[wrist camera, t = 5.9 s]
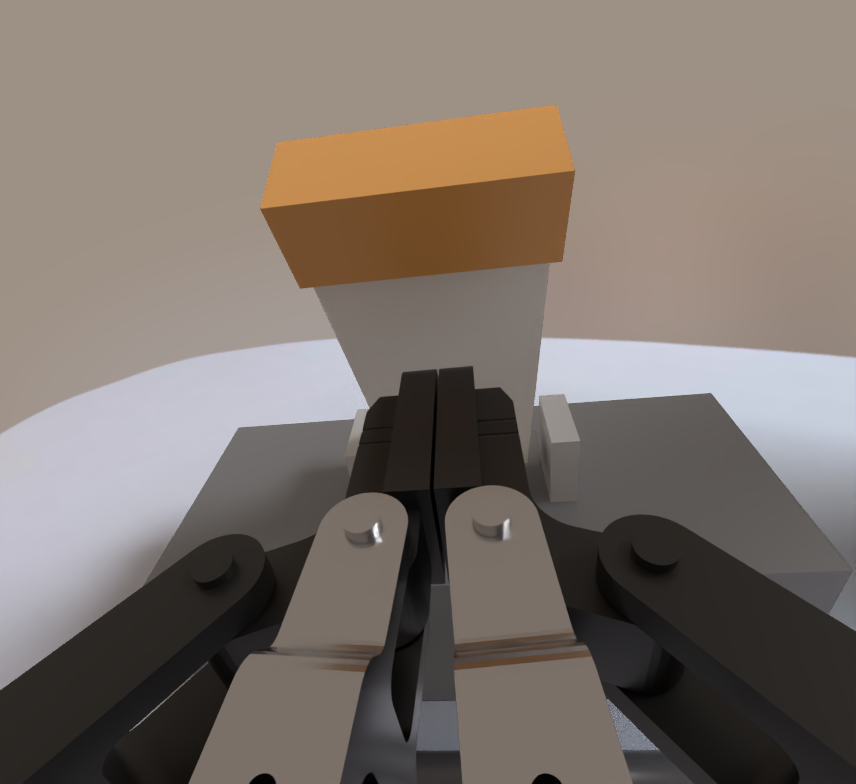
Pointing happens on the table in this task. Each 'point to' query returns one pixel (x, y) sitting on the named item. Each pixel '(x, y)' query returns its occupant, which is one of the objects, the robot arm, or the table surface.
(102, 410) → the table surface
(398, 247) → the breaker lever
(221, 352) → the table surface
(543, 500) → the block
